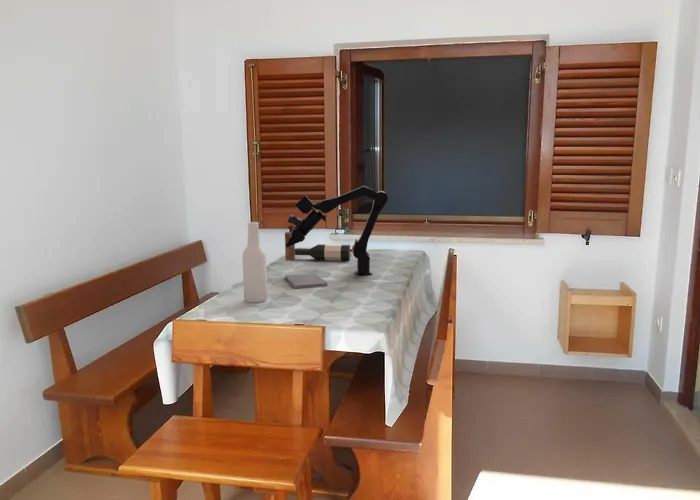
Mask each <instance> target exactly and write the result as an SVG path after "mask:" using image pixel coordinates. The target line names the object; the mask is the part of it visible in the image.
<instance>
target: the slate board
mask: <svg viewBox="0 0 700 500" xmlns="http://www.w3.org/2000/svg"><path fill="white" fill-rule="evenodd" d="M284 276H285V277H284V278H285V280H286V281H287V282H288V283H289V284H290V285H291V286H292V288H293V289H307V288H319V287H327V286H328V282H327V281H325V280H324V279H323V278H321V276H319V275H318V273H315V272H314V273H300V274H287V275H284Z"/></svg>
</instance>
